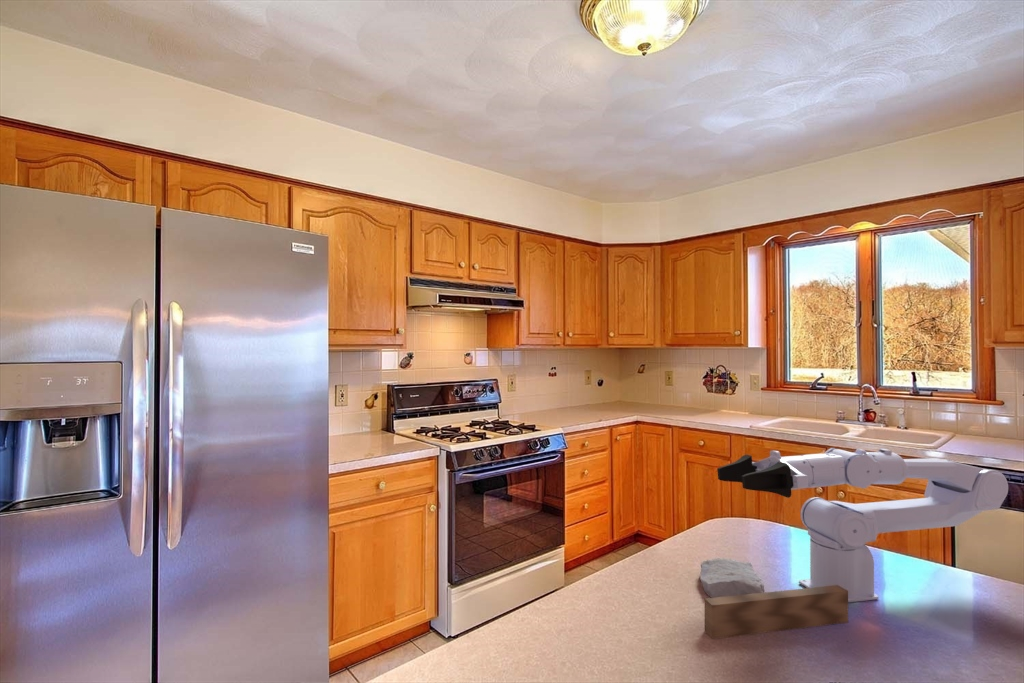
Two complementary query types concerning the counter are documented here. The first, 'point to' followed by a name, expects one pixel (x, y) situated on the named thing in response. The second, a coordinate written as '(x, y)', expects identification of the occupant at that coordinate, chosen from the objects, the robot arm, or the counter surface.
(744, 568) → the stone block
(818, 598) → the walnut wall
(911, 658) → the counter surface
